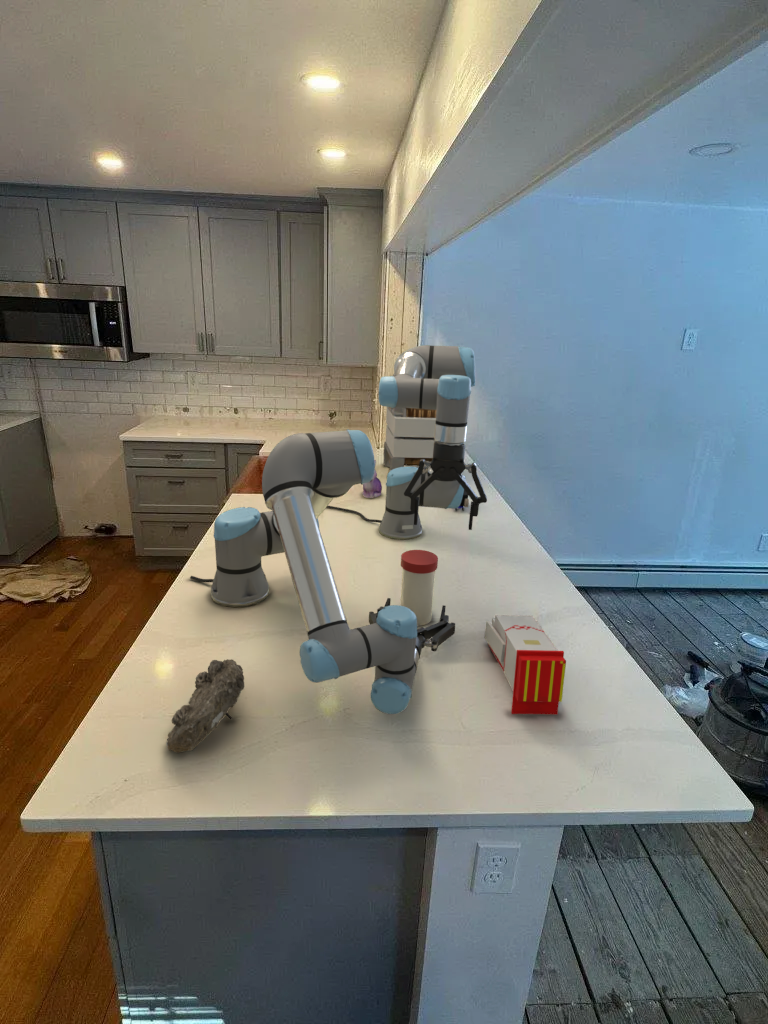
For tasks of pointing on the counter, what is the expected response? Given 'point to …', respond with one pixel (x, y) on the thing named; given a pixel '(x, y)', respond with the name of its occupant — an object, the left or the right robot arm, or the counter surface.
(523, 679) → the toy
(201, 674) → the fossil
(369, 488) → the figurine
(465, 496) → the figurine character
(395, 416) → the grey slatted crate
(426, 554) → the lid
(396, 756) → the counter surface
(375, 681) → the left robot arm
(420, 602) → the jar
